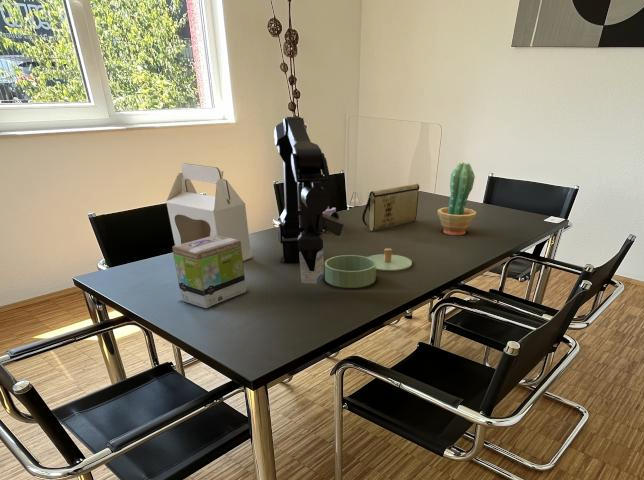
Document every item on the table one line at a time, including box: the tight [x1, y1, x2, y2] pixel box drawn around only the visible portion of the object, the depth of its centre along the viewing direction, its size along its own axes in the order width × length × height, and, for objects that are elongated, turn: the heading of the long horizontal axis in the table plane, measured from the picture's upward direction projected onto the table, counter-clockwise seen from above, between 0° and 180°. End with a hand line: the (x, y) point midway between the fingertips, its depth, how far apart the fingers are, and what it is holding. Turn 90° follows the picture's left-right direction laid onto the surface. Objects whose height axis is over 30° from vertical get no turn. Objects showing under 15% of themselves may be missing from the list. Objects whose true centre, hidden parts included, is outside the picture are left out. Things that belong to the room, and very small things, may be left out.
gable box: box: [165, 162, 252, 262], centre depth 150 cm, size 22×13×28 cm, turn 57°
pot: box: [324, 254, 377, 289], centre depth 140 cm, size 15×15×5 cm
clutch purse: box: [361, 183, 420, 232], centre depth 192 cm, size 30×7×15 cm, turn 133°
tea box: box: [171, 235, 247, 309], centre depth 125 cm, size 15×10×15 cm, turn 148°
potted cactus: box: [436, 162, 477, 236], centre depth 182 cm, size 15×15×25 cm
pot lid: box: [367, 247, 413, 272], centre depth 153 cm, size 16×16×5 cm
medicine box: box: [299, 247, 325, 285], centre depth 126 cm, size 8×4×9 cm, turn 169°
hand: (312, 265), depth 126 cm, fingers closed on medicine box, 8 cm apart
